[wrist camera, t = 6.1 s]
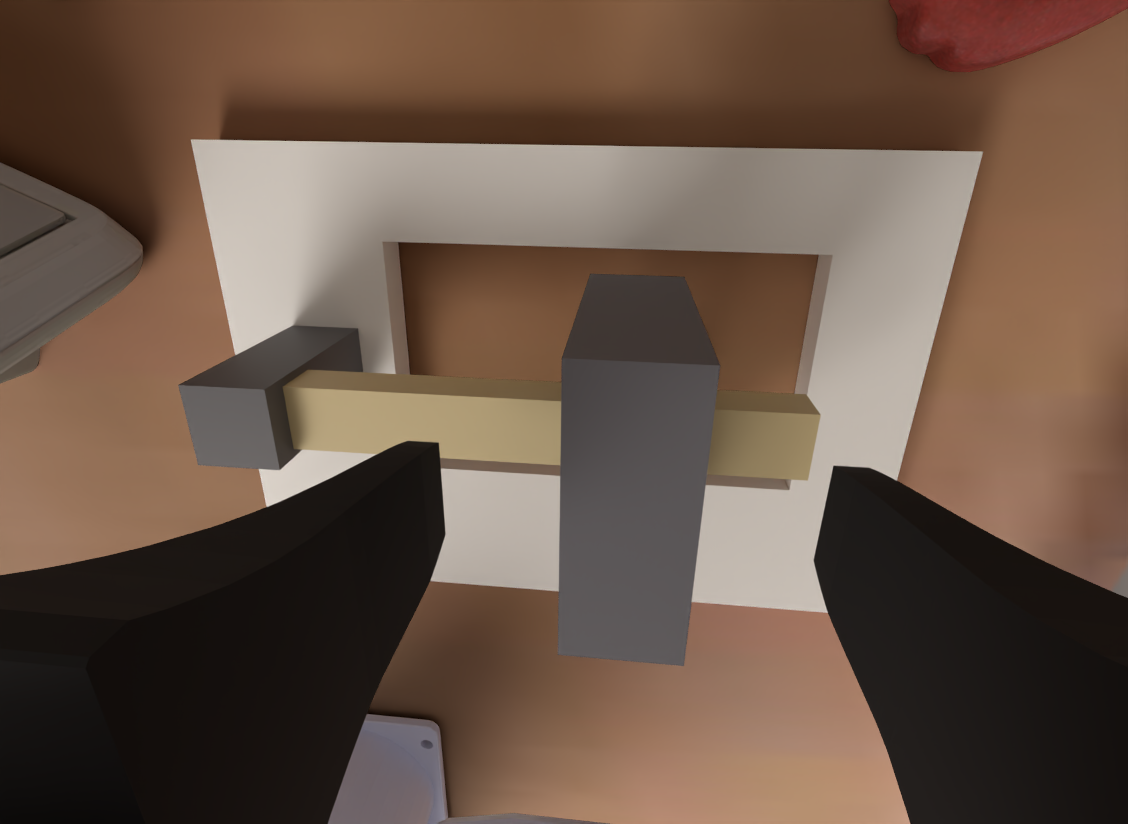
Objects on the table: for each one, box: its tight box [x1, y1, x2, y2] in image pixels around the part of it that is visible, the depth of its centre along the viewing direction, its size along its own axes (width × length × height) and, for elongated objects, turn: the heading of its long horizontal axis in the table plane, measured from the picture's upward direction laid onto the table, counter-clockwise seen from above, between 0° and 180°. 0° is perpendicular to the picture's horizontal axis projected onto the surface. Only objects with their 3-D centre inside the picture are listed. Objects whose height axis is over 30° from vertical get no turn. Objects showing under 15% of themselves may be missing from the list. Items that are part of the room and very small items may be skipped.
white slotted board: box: [178, 140, 983, 613], centre depth 16 cm, size 14×20×6 cm
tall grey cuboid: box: [558, 274, 720, 666], centre depth 14 cm, size 6×2×7 cm, turn 179°
